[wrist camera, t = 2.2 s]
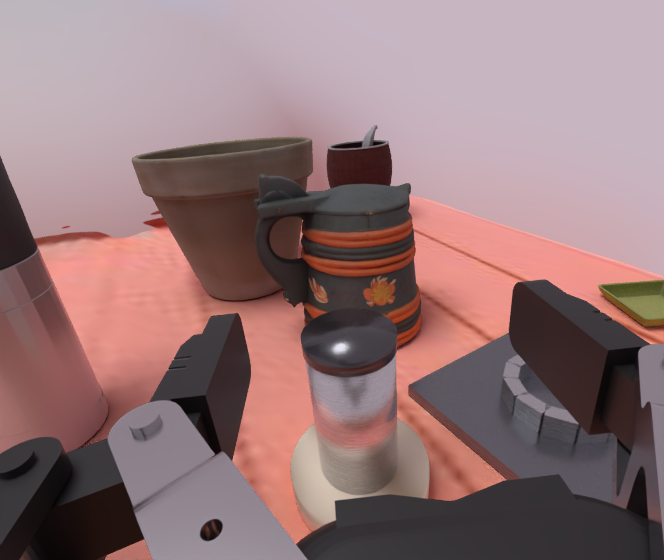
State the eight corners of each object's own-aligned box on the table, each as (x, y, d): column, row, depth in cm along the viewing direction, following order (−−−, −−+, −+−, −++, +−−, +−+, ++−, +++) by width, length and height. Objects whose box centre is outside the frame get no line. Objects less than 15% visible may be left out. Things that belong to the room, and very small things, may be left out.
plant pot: (261, 244, 80) (241, 134, 71) (355, 268, 65) (346, 132, 56) (145, 292, 63) (100, 157, 54) (236, 339, 48) (194, 162, 39)
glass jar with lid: (346, 513, 24) (331, 376, 20) (305, 450, 29) (285, 328, 24) (416, 468, 27) (417, 337, 22) (368, 417, 31) (360, 299, 27)
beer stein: (288, 383, 40) (255, 192, 31) (264, 317, 53) (235, 169, 44) (445, 336, 45) (453, 160, 36) (388, 287, 58) (384, 148, 49)
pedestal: (339, 588, 23) (335, 563, 22) (274, 467, 31) (269, 445, 30) (458, 498, 27) (460, 475, 26) (374, 413, 35) (373, 392, 34)
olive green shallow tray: (593, 298, 50) (596, 284, 49) (661, 293, 50) (666, 278, 49) (640, 335, 43) (645, 319, 42) (722, 330, 42) (728, 313, 41)
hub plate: (612, 570, 22) (626, 536, 21) (408, 395, 37) (408, 368, 35) (737, 430, 30) (752, 399, 29) (528, 330, 44) (531, 306, 43)
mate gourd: (375, 235, 79) (371, 132, 70) (320, 229, 86) (310, 134, 77) (405, 214, 90) (405, 123, 82) (354, 210, 97) (349, 126, 89)
